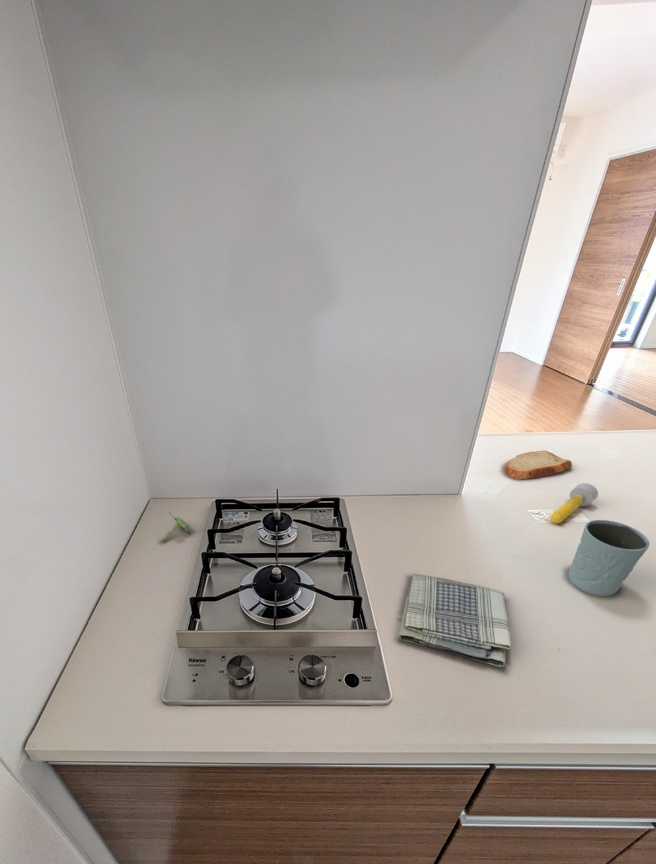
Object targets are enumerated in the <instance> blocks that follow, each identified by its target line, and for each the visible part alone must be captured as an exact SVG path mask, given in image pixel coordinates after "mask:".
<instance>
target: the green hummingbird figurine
mask: <svg viewBox="0 0 656 864" xmlns="http://www.w3.org/2000/svg"><path fill="white" fill-rule="evenodd" d="M168 513H169V515H170V516H171V518H172V519H173V520H174V522H176V525H175V526H174V528H173V529H172V531H171V532H170V533H169V534H168V536H167V537H165V539H164V540H163V541H162V542H163V543H165V542H166V540H168V538H169V537H170V536H171V535H172V534H173V532H174V531H175V530H176V528H177V527H178V526H180V527H182V528H183V529H184V530H186V531H187V532H190V533H191V532H192V531H191V530H190V529H189V528H187V527H188V524H187V522H186V521H185V519H183V518H181V517H179V516H178V517H175V516H174V515H173V514H172V513H171V512H170V511H168Z"/></svg>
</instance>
